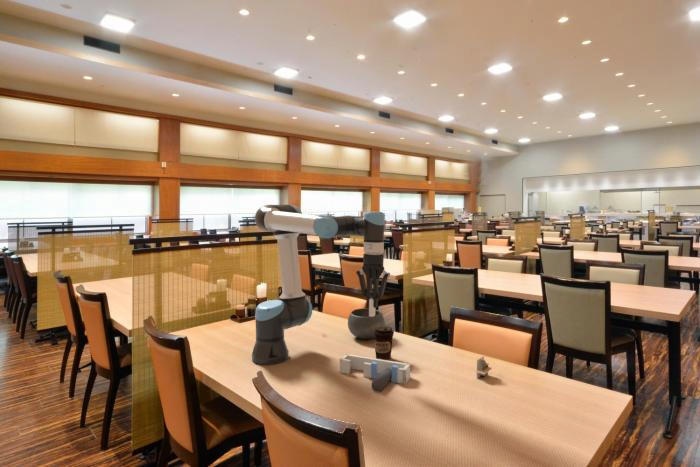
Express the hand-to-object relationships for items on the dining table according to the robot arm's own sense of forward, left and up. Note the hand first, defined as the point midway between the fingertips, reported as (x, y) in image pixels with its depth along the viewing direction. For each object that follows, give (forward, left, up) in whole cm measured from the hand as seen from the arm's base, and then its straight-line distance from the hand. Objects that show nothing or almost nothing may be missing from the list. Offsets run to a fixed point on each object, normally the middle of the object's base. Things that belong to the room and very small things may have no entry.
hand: (372, 315), depth 149 cm
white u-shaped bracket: (+1, 0, -22) cm, 22 cm away
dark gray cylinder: (+6, -7, -23) cm, 24 cm away
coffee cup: (-1, +16, -23) cm, 28 cm away
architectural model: (+39, +14, -23) cm, 47 cm away
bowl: (-18, +39, -23) cm, 49 cm away
